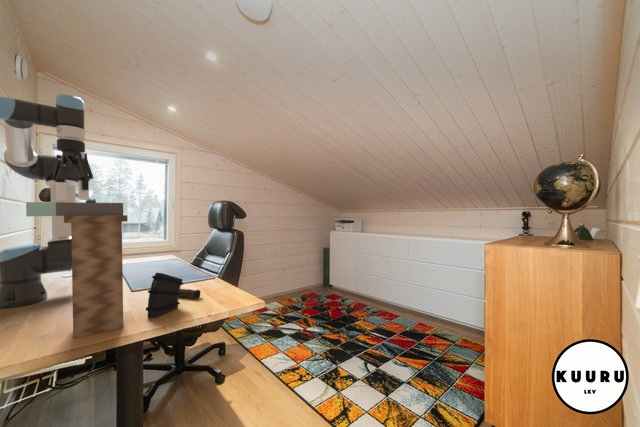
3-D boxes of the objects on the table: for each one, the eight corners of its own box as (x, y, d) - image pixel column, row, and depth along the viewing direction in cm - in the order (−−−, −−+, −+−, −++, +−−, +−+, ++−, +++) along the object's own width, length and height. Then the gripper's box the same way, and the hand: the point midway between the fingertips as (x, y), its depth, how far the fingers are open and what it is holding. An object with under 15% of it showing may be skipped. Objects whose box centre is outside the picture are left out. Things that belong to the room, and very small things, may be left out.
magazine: (137, 316, 93) (153, 272, 99) (167, 319, 105) (180, 279, 111) (146, 317, 92) (162, 272, 98) (175, 320, 103) (187, 280, 109)
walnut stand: (66, 340, 80) (63, 216, 79) (70, 328, 88) (68, 215, 87) (129, 326, 89) (127, 215, 88) (127, 317, 97) (126, 214, 96)
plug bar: (26, 216, 77) (26, 202, 77) (29, 216, 80) (29, 202, 80) (123, 215, 90) (123, 202, 90) (122, 215, 93) (122, 203, 93)
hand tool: (201, 298, 118) (201, 287, 118) (194, 301, 114) (194, 289, 114) (168, 293, 125) (168, 283, 125) (160, 296, 121) (160, 285, 121)
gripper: (38, 141, 100) (39, 199, 100) (79, 134, 90) (80, 199, 91) (64, 145, 106) (65, 200, 107) (104, 139, 97) (105, 199, 98)
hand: (72, 199), depth 99 cm, fingers open, 13 cm apart
